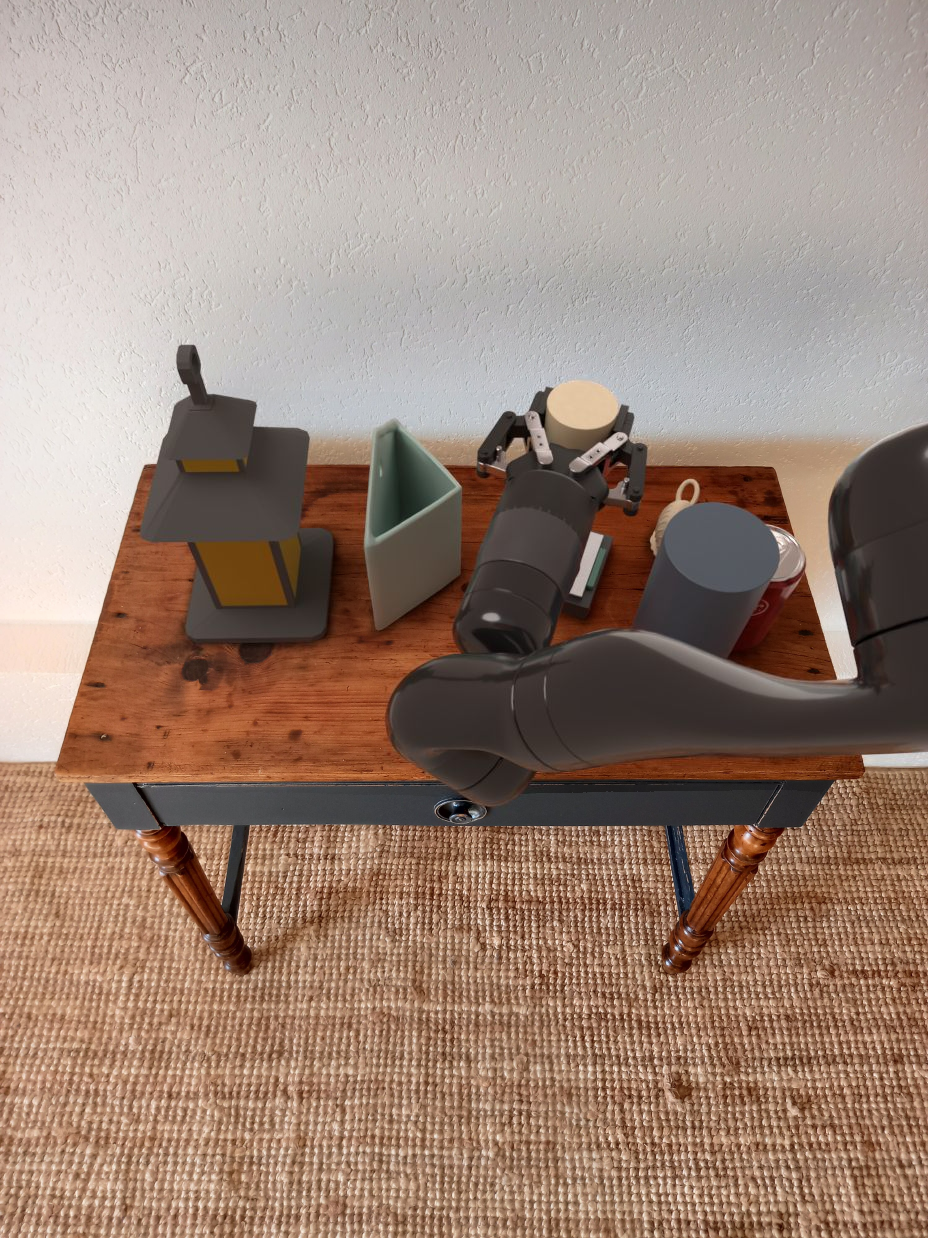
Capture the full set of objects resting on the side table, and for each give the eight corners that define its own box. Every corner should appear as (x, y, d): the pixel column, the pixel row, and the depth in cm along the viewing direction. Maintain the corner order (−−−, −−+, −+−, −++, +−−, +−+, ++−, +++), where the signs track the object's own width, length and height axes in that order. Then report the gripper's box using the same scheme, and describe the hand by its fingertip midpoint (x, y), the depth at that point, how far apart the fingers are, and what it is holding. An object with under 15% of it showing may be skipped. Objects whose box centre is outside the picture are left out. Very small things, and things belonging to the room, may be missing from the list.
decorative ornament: (639, 554, 87) (649, 522, 83) (671, 506, 91) (683, 473, 87) (673, 571, 86) (685, 539, 82) (704, 521, 90) (718, 488, 86)
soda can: (723, 664, 80) (762, 595, 70) (680, 610, 83) (711, 537, 73) (780, 636, 82) (826, 565, 72) (735, 584, 85) (773, 510, 75)
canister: (609, 466, 75) (627, 390, 68) (590, 511, 72) (607, 437, 65) (548, 449, 76) (559, 372, 69) (527, 492, 73) (537, 417, 66)
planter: (452, 638, 81) (452, 508, 65) (374, 630, 82) (355, 500, 65) (468, 515, 90) (472, 374, 74) (398, 509, 91) (386, 367, 74)
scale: (610, 549, 88) (614, 533, 85) (585, 620, 83) (589, 605, 80) (523, 524, 90) (525, 507, 87) (494, 592, 84) (495, 576, 82)
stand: (718, 649, 81) (787, 520, 64) (701, 724, 76) (770, 606, 60) (631, 622, 83) (677, 489, 66) (609, 694, 78) (652, 571, 61)
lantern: (185, 643, 80) (64, 417, 55) (206, 534, 88) (108, 292, 63) (325, 641, 81) (269, 415, 56) (334, 533, 88) (288, 291, 63)
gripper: (636, 538, 56) (678, 387, 65) (444, 488, 59) (509, 349, 68) (617, 599, 63) (658, 454, 72) (444, 552, 65) (504, 417, 74)
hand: (585, 403), depth 70 cm, fingers closed on canister, 6 cm apart
